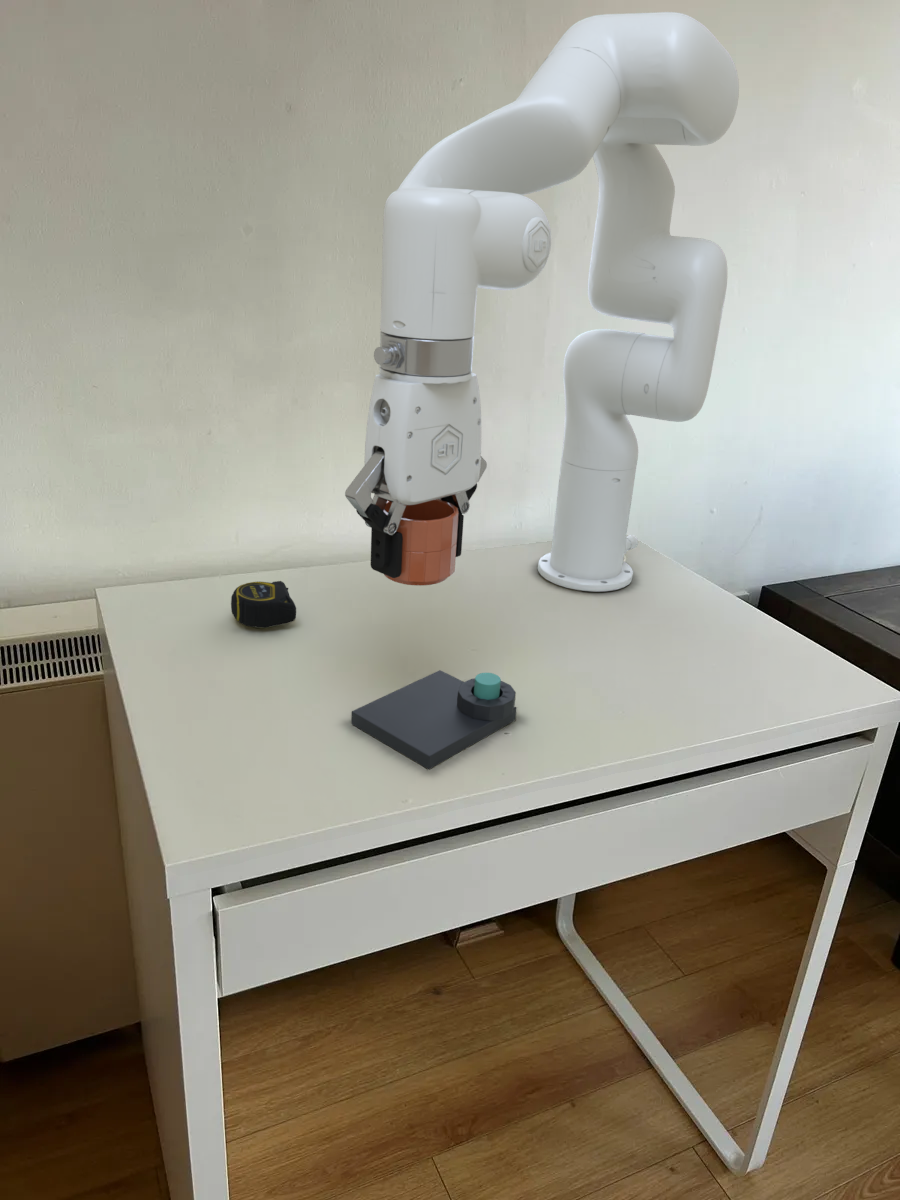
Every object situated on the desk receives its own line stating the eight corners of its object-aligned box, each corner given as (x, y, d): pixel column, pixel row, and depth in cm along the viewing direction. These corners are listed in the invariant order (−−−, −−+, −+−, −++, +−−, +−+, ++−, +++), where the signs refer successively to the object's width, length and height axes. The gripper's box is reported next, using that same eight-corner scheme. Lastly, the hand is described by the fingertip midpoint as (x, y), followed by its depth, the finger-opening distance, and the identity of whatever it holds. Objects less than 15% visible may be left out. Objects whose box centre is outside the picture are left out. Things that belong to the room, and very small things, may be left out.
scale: (443, 679, 92) (445, 653, 91) (523, 719, 86) (526, 692, 85) (350, 724, 83) (351, 696, 82) (432, 772, 77) (434, 742, 76)
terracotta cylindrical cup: (415, 553, 85) (418, 492, 82) (469, 574, 81) (474, 510, 78) (361, 570, 80) (363, 506, 78) (416, 594, 76) (419, 527, 73)
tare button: (485, 685, 86) (486, 669, 85) (504, 695, 85) (506, 679, 84) (468, 694, 84) (469, 677, 84) (488, 704, 83) (489, 687, 82)
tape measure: (297, 631, 100) (297, 600, 99) (235, 636, 98) (233, 605, 97) (288, 606, 106) (288, 576, 105) (228, 610, 104) (227, 580, 103)
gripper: (379, 374, 64) (373, 601, 72) (529, 356, 76) (511, 552, 84) (312, 358, 69) (313, 573, 76) (463, 343, 81) (451, 530, 88)
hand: (416, 561), depth 80 cm, fingers closed on terracotta cylindrical cup, 6 cm apart
